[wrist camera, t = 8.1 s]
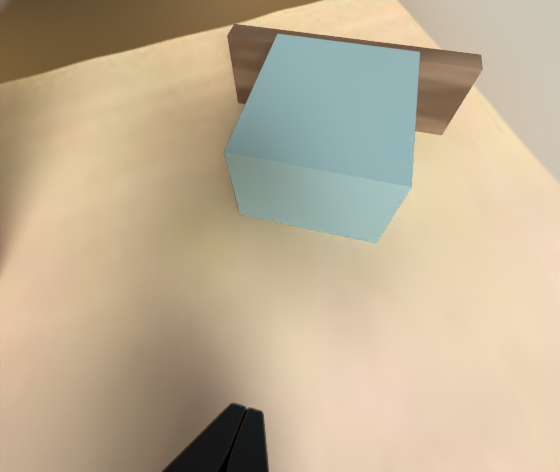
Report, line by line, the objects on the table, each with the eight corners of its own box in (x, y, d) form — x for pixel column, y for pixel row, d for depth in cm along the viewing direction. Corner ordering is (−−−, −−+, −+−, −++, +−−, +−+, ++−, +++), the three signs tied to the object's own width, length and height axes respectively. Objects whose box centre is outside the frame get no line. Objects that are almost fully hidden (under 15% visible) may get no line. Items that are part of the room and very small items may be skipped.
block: (375, 244, 25) (411, 187, 18) (240, 215, 26) (223, 151, 19) (389, 128, 31) (419, 51, 24) (279, 111, 32) (277, 33, 25)
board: (441, 134, 30) (482, 69, 24) (238, 102, 33) (227, 35, 27) (441, 121, 31) (481, 54, 25) (243, 91, 34) (234, 24, 28)
